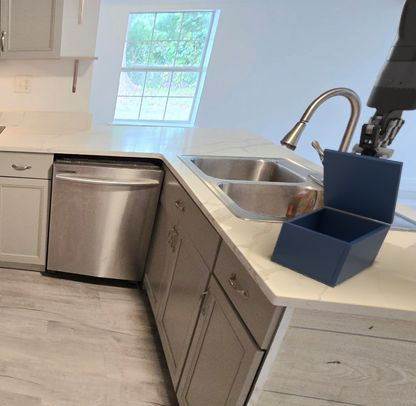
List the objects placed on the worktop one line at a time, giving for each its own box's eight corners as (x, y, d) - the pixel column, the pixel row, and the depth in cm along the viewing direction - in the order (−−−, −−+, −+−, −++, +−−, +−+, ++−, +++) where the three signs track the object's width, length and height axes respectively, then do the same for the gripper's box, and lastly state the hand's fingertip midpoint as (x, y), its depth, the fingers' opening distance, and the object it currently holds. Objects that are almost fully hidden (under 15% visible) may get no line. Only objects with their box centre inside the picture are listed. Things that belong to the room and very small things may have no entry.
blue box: (333, 287, 80) (352, 245, 76) (269, 260, 91) (283, 222, 86) (372, 265, 88) (391, 225, 83) (309, 242, 98) (323, 206, 94)
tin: (292, 225, 107) (302, 199, 104) (280, 221, 110) (288, 196, 106) (313, 213, 114) (322, 188, 111) (301, 209, 117) (309, 185, 113)
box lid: (401, 164, 72) (418, 145, 73) (323, 150, 83) (339, 133, 83) (391, 224, 83) (406, 207, 84) (323, 205, 94) (337, 190, 94)
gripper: (413, 88, 68) (374, 175, 75) (441, 84, 74) (402, 166, 81) (360, 85, 74) (329, 166, 81) (389, 81, 80) (358, 157, 87)
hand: (366, 165), depth 81 cm, fingers closed on box lid, 2 cm apart
